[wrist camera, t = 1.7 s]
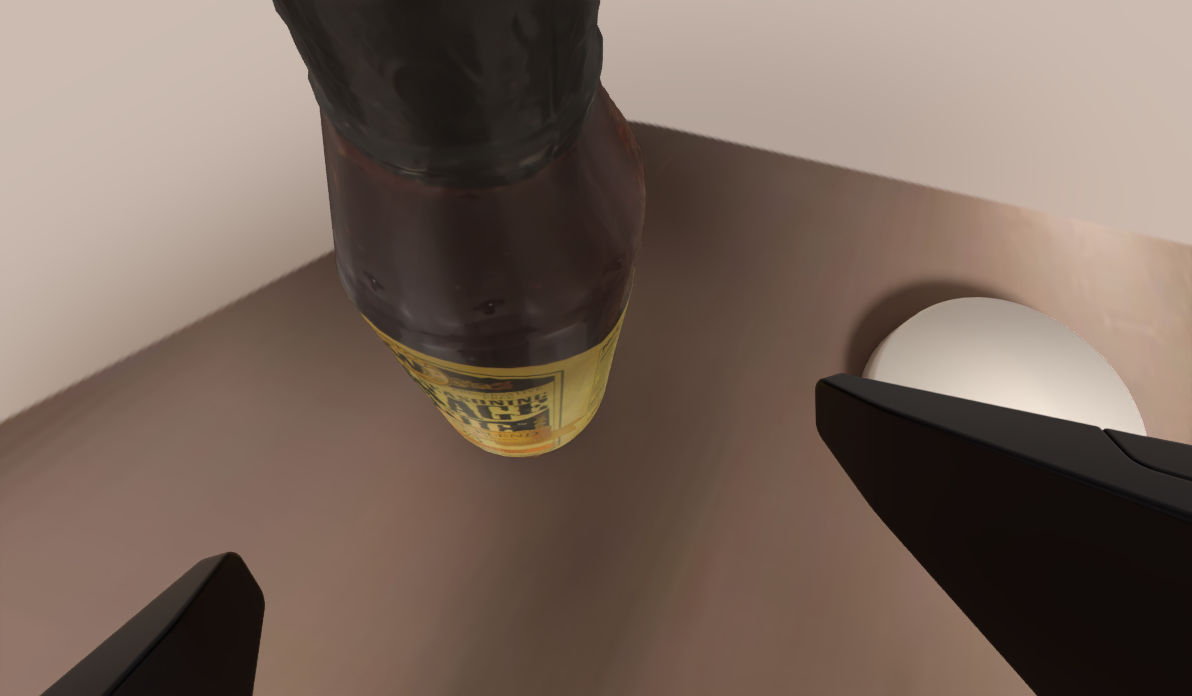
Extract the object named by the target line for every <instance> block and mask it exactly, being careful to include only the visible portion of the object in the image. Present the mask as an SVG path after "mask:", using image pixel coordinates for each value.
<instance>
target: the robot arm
mask: <svg viewBox="0 0 1192 696" xmlns="http://www.w3.org/2000/svg"><path fill="white" fill-rule="evenodd" d="M815 406H816V426H817V430H818V432H819V435H820V436H821V438H822V440H823V441H824V442H825V444H826V445H827V447H828V448H829V449H830V451H831V452H832V454H833V455H834V456H835V458H836V459H837V461H838V462H839V463H840V465H841V466H842V468H843V469H844V470H845V472H846V473H847V475H848V476H849V477H850V479H851V480H852V482H853V483H854V484H855V486H856V487H857V489H858V490H859V491H860V493H861V494H862V496H863V497H864V498H865V500H866V501H867V502H868V504H869V505H870V506H871V508H872V509H873V510H874V511H875V513H876V514H877V515H878V516H879V517H880V519H881V520H882V521H883V522H884V523H885V524H886V525H887V527H888V528H889V529H890V530H891V531H892V532H893V533H894V535H895V536H896V537H897V538H898V539H899V540H900V541H901V542H902V544H903V545H904V546H905V547H906V548H907V549H908V550H909V551H910V553H911V554H912V555H913V556H914V557H915V558H916V559H917V561H918V562H919V563H920V564H921V565H922V566H923V567H924V568H925V570H926V571H927V572H928V573H929V574H930V575H931V576H932V577H933V579H934V580H935V581H936V582H937V583H938V584H939V585H940V587H941V588H942V589H943V590H944V591H945V592H946V593H947V594H948V596H949V597H950V598H951V599H952V600H953V601H954V602H955V603H956V605H957V606H958V607H959V608H960V609H961V610H962V611H963V613H964V614H965V615H966V616H967V617H968V618H969V619H970V620H971V622H972V623H973V624H974V625H975V626H976V627H977V628H978V629H979V631H980V632H981V633H982V634H983V635H984V636H985V637H986V639H987V640H988V641H989V642H990V643H991V644H992V645H993V646H994V648H995V649H996V650H997V651H998V652H999V653H1000V654H1001V655H1002V657H1003V658H1004V659H1005V660H1006V661H1007V662H1008V663H1009V665H1010V666H1011V667H1012V668H1013V669H1014V670H1015V671H1016V672H1017V674H1018V675H1019V676H1020V677H1021V678H1022V679H1023V680H1024V681H1025V683H1026V684H1027V685H1028V686H1029V687H1030V688H1031V689H1032V691H1033V692H1034V693H1035V694H1036V695H1037V696H1192V445H1188V444H1183V443H1178V442H1173V441H1168V440H1163V439H1158V438H1152V437H1147V436H1142V435H1137V434H1133V433H1128V432H1123V431H1118V430H1114V429H1109V428H1105V429H1103V430H1102V429H1101V428H1100V427H1098V426H1094V425H1089V424H1084V423H1079V422H1074V421H1070V420H1065V419H1060V418H1055V417H1050V416H1046V415H1041V414H1036V413H1031V412H1026V411H1022V410H1017V409H1012V408H1007V407H1002V406H998V405H993V404H988V403H983V402H978V401H974V400H969V399H964V398H959V397H954V396H950V395H945V394H940V393H935V392H930V391H926V390H921V389H916V388H911V387H906V386H901V385H897V384H892V383H887V382H882V381H877V380H873V379H868V378H863V377H858V376H853V375H849V374H843V373H841V374H836V375H833V376H829V377H826V378H823V379H820V380H819V381H818V382H817V384H816V387H815ZM264 610H265V601H264V596H263V593H262V590H261V588H260V587H259V585H258V584H257V582H256V580H255V579H254V577H253V575H252V574H251V572H250V571H249V569H248V567H247V566H246V564H245V562H244V561H243V559H242V558H241V557H240V555H238V554H237V553H235V552H227V553H223V554H220V555H216V556H213V557H209V558H206V559H203V560H201V561H200V562H198V563H197V564H196V565H195V566H193V567H192V568H191V569H190V570H189V571H187V572H186V573H185V574H184V575H183V576H181V577H180V578H179V579H178V580H177V581H175V582H174V583H173V584H172V585H171V586H170V587H168V588H167V589H166V590H165V591H164V592H162V593H161V594H160V595H159V596H158V597H156V598H155V599H154V600H153V601H152V602H151V603H149V604H148V605H147V606H146V607H145V608H143V609H142V610H141V611H140V612H139V613H137V614H136V615H135V616H134V617H133V618H131V619H130V620H129V621H128V622H127V623H126V624H124V625H123V626H122V627H121V628H120V629H118V630H117V631H116V632H115V633H114V634H112V635H111V636H110V637H109V638H108V639H107V640H105V641H104V642H103V643H102V644H101V645H99V646H98V647H97V648H96V649H95V650H93V651H92V652H91V653H90V654H89V655H87V656H86V657H85V658H84V659H83V660H82V661H80V662H79V663H78V664H77V665H76V666H74V667H73V668H72V669H71V670H70V671H68V672H67V673H66V674H65V675H64V676H63V677H61V678H60V679H59V680H58V681H57V682H55V683H54V684H53V685H52V686H51V687H49V688H48V689H47V690H46V691H45V692H43V693H42V694H41V695H40V696H253V689H254V681H255V674H256V667H257V660H258V653H259V646H260V639H261V632H262V624H263V617H264Z"/></svg>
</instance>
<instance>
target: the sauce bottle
mask: <svg viewBox="0 0 1192 696" xmlns="http://www.w3.org/2000/svg"><path fill="white" fill-rule="evenodd" d="M273 3H274V6H275V10H276V12H277V13H278V14H279V15H280V17H281V18H282V19H283V21H284V22H285V23H286V25H287V26H288V28H289V30H290V33H291V35H292V38H293V40H294V43H295V45H296V47H297V49H298V51H299V53H300V55H301V57H302V59H303V61H304V63H305V65H306V66H307V68H308V79H309V82H310V84H311V87H312V89H313V92H314V95H315V98H316V100H317V103H318V105H319V106H320V115H321V125H322V135H323V145H324V155H325V164H326V173H327V182H328V192H329V201H330V209H331V219H332V229H333V237H334V247H335V256H336V265H337V270H338V275H339V277H340V280H341V283H342V285H343V287H344V289H345V291H346V293H347V295H348V297H349V298H350V299H351V301H352V302H353V304H354V305H355V306H356V308H357V309H358V310H359V312H360V313H361V314H362V316H363V317H364V318H365V320H366V321H367V322H368V323H369V324H370V325H371V326H372V328H373V329H374V330H375V331H376V333H377V334H378V335H379V336H380V338H381V339H382V340H383V341H384V343H385V344H386V345H387V346H388V347H389V349H390V350H391V351H392V352H393V354H394V356H395V357H396V358H397V360H398V361H399V362H400V363H401V364H402V366H403V367H404V368H405V370H406V371H407V372H408V374H409V375H410V376H411V377H412V378H413V380H414V381H415V382H416V383H417V384H418V385H419V386H420V388H421V389H422V390H423V391H424V393H425V394H426V395H427V396H428V397H429V398H430V399H431V400H432V401H433V403H434V404H435V405H436V406H437V408H438V409H439V410H440V411H441V412H442V414H443V415H444V416H445V417H446V418H447V419H448V421H449V422H450V423H451V424H452V426H453V427H454V428H455V429H456V430H457V431H458V432H459V433H460V434H461V435H462V436H463V437H464V438H466V439H467V440H469V441H470V442H471V443H473V444H475V445H476V446H478V447H480V448H482V449H484V450H485V451H488V452H492V453H495V454H499V455H502V456H509V457H522V458H534V457H538V456H540V455H542V454H543V453H547V452H550V451H552V450H555V449H557V448H559V447H561V446H563V445H565V444H566V443H568V442H570V441H571V440H572V439H573V438H574V437H576V436H577V435H578V434H579V433H580V432H581V431H582V430H583V429H584V428H585V427H586V426H587V425H588V423H589V422H590V421H591V419H592V418H593V416H594V415H595V413H596V411H597V410H598V408H599V406H600V403H601V400H602V398H603V395H604V393H605V388H606V384H607V380H608V376H609V372H610V368H611V364H612V360H613V356H614V352H615V348H616V345H617V341H618V337H619V334H620V330H621V327H622V323H623V320H624V317H625V313H626V310H627V306H628V302H629V298H630V294H631V290H632V286H633V282H634V269H635V259H636V256H637V253H638V252H639V250H640V249H641V247H642V245H641V241H642V233H643V227H644V222H645V214H646V202H645V200H646V187H645V181H644V165H643V160H642V151H641V148H640V146H639V144H638V142H637V140H636V137H635V135H634V133H633V131H632V129H631V127H630V126H629V124H628V122H627V121H626V119H625V118H624V116H623V115H622V113H621V112H620V110H619V109H618V108H617V107H616V105H615V103H614V102H613V101H612V99H611V98H610V97H609V94H608V93H607V91H606V90H605V88H603V86H602V84H601V81H600V75H601V70H602V61H603V37H602V34H601V32H600V30H599V28H598V25H597V18H598V9H599V5H600V0H273Z"/></svg>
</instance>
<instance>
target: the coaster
mask: <svg viewBox="0 0 1192 696" xmlns="http://www.w3.org/2000/svg"><path fill="white" fill-rule="evenodd" d="M862 377H863V378H868V379H873V380H877V381H882V382H887V383H892V384H897V385H901V386H906V387H911V388H916V389H921V390H926V391H930V392H935V393H940V394H945V395H950V396H954V397H959V398H964V399H969V400H974V401H978V402H983V403H988V404H993V405H998V406H1002V407H1007V408H1012V409H1017V410H1022V411H1026V412H1031V413H1036V414H1041V415H1046V416H1050V417H1055V418H1060V419H1065V420H1070V421H1074V422H1079V423H1084V424H1089V425H1094V426H1098V427H1100V428H1101V429H1102V430H1103V429H1105V428H1109V429H1114V430H1118V431H1123V432H1128V433H1133V434H1137V435H1142V436H1147V435H1146V431H1145V427H1144V424H1143V421H1142V418H1141V416H1140V413H1139V411H1138V408H1137V406H1136V404H1135V402H1134V400H1133V398H1132V396H1131V394H1130V393H1129V391H1128V389H1127V387H1126V386H1125V384H1124V383H1123V381H1122V380H1121V379H1120V377H1119V376H1118V374H1117V373H1116V371H1115V370H1114V369H1113V368H1112V367H1111V365H1110V364H1109V363H1108V362H1107V361H1106V360H1105V358H1104V357H1103V356H1102V355H1101V354H1100V353H1099V352H1098V351H1097V350H1096V349H1095V348H1094V347H1093V346H1092V345H1091V344H1089V343H1088V342H1087V341H1086V340H1084V339H1083V338H1082V337H1081V336H1079V335H1078V334H1077V333H1076V332H1074V331H1073V330H1071V329H1070V328H1068V327H1067V326H1065V325H1064V324H1062V323H1061V322H1059V321H1057V320H1055V319H1053V318H1052V317H1050V316H1048V315H1046V314H1044V313H1042V312H1039V311H1037V310H1035V309H1032V308H1030V307H1027V306H1024V305H1021V304H1017V303H1014V302H1010V301H1005V300H1000V299H995V298H983V297H971V298H959V299H953V300H948V301H944V302H941V303H938V304H935V305H932V306H930V307H928V308H926V309H924V310H922V311H920V312H919V313H917V314H916V315H914V316H913V317H911V318H910V319H909V320H907V321H906V322H905V323H903V324H902V325H901V326H899V327H898V328H897V329H895V330H894V331H893V332H891V333H890V334H889V335H888V336H887V337H886V338H885V339H884V340H883V341H881V342H880V344H879V345H878V346H877V348H876V349H875V350H874V351H873V353H872V354H871V356H870V358H869V360H868V362H867V364H866V365H865V368H864V371H863V374H862Z"/></svg>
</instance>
